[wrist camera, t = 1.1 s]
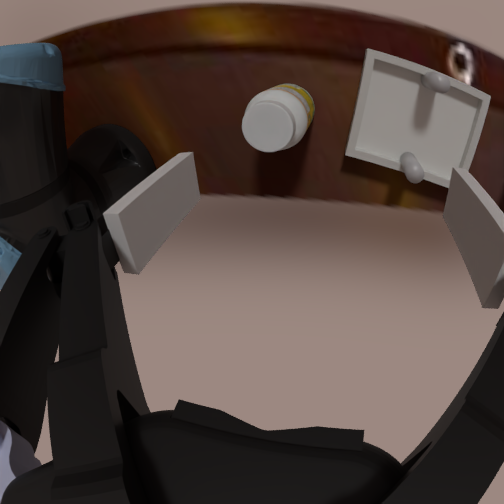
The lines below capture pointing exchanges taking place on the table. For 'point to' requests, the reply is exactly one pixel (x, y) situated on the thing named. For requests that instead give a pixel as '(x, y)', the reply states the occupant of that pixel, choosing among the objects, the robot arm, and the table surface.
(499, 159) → the table surface
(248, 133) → the supplement bottle
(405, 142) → the tray
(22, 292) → the robot arm
